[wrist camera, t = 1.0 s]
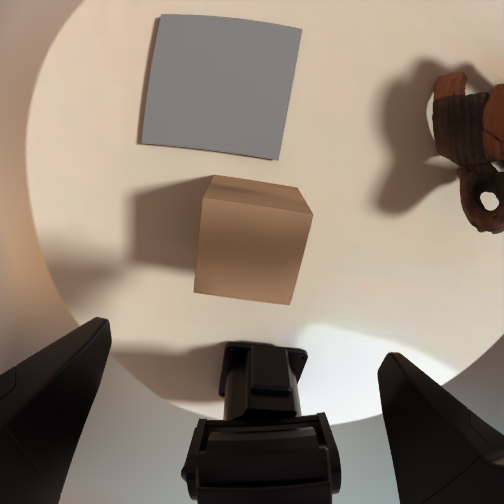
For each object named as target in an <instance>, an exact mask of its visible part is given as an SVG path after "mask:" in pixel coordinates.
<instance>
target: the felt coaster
mask: <svg viewBox="0 0 504 504" xmlns="http://www.w3.org/2000/svg"><path fill="white" fill-rule="evenodd" d="M301 33H302V29H299V28H294V27H289V26H284V25H278V24H273V23H267V22H260V21H253V20H246V19H238V18H228V17H218V16H204V15H179V14H161V18H160V23H159V27H158V32H157V37H156V43H155V48H154V53H153V59H152V65H151V71H150V77H149V84H148V91H147V98H146V106H145V114H144V123H143V132H142V143H145V144H157V145H168V146H178V147H187V148H196V149H204V150H212V151H220V152H227V153H235V154H241V155H248V156H254V157H261V158H267V159H273V160H278V159H279V154H280V149H281V143H282V138H283V132H284V127H285V122H286V116H287V111H288V105H289V100H290V94H291V89H292V83H293V78H294V72H295V67H296V61H297V56H298V50H299V44H300V39H301Z"/></svg>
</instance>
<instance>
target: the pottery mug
mask: <svg viewBox="0 0 504 504" xmlns="http://www.w3.org/2000/svg"><path fill="white" fill-rule="evenodd" d="M466 80H467V77H466V75H465V74H464V73H462V72H456V73H453V74H448V75H444V76H440V77H439V78H438V80H437V82H436V86H435V89H434V101H433V115H432V120H433V132H434V138H435V141H436V145H437V148H438V151H439V153H440V155H441V156H443V157H445V158H447V159H450V160H451V161H452V162H454V163H456V164H457V165H459V166H460V168H459V169H458V170H457V175H458V177H459V179H460V197H461V205H462V208H463V211H464V213H465V215H466V217H467V219H468V220H469V222H470V223H471V224H472V225H473V226H474V227H476V228H477V230H478V231H479V232H484V231H488V232H492V233H493V234H497V233H501V232H503V231H504V172H498V171H497V169H496V168H495V167H494V166H492V164H491V162H494V161H502V160H504V84H498V85H496V86H494V88H493V89H492V90H491V93H490V94H488V93H487V92H484V93H477V94H469V95H466V96H465V85H466ZM483 192H492V193H494V194H495V195H496V197H497V199H498V200H499V205H498V207H497V208H496V209H495V210H493V211H489V210H486V209H485V207H484V206H483V204H482V202H481V200H480V195H481V193H483Z"/></svg>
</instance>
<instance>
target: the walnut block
mask: <svg viewBox="0 0 504 504" xmlns="http://www.w3.org/2000/svg"><path fill="white" fill-rule="evenodd" d="M312 218H313V213H312V212H311V210H310V208H309V206H308V205H307V203H306V201H305V200H304V198H303V196H302V194H301V193H300V191H299V189H298V188H295V187H290V186H284V185H278V184H272V183H266V182H260V181H253V180H247V179H240V178H234V177H227V176H219V175H214V176H213V178H212V180H211V182H210V184H209V186H208V188H207V190H206V192H205V194H204V196H203V201H202V210H201V219H200V228H199V238H198V248H197V258H196V269H195V281H194V293H200V294H207V295H214V296H221V297H229V298H236V299H243V300H251V301H259V302H267V303H275V304H284V305H290V303H291V299H292V296H293V292H294V288H295V285H296V281H297V277H298V273H299V269H300V266H301V262H302V258H303V254H304V250H305V246H306V242H307V238H308V234H309V230H310V226H311V222H312Z"/></svg>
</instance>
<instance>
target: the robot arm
mask: <svg viewBox="0 0 504 504" xmlns="http://www.w3.org/2000/svg"><path fill="white" fill-rule="evenodd" d="M111 343H112V338H111V331H110V323H109V320H107V319H105V318H100V317H95V318H93V319H92V320H90V321H88V322H87V323H85V324H83V325H82V326H80V327H78V328H77V329H75V330H73V331H71V332H70V333H68V334H67V335H65V336H63V337H62V338H60V339H58V340H57V341H55V342H53V343H52V344H50V345H48V346H47V347H45V348H44V349H42V350H40V351H39V352H37V353H35V354H34V355H32V356H30V357H29V358H27V359H26V360H24V361H22V362H21V363H19V364H17V365H16V366H14V367H12V368H11V369H9V370H8V371H6V372H4V373H3V374H1V375H0V504H58V503H59V500H60V496H61V495H60V494H61V492H62V489H63V486H64V483H65V479H66V476H67V473H68V470H69V467H70V464H71V461H72V458H73V455H74V452H75V449H76V447H77V444H78V441H79V438H80V435H81V432H82V430H83V427H84V424H85V422H86V419H87V417H88V414H89V411H90V409H91V406H92V404H93V401H94V399H95V396H96V393H97V391H98V388H99V386H100V382H101V379H102V375H103V372H104V368H105V365H106V361H107V358H108V354H109V351H110V348H111ZM231 348H232V349H233V350H231ZM301 355H303V356H301ZM307 358H308V355H307V352H306V351H305V350H300V349H288V348H277V347H267V346H257V345H248V344H240V343H228V344H227V345H226V346H225V352H224V359H223V365H222V372H221V378H220V385H219V393H218V394H219V396H221V397H224V398H225V402H224V418H223V420H207V419H199V421H198V424H197V427H196V428H195V430H194V433H193V437H192V441H191V444H190V447H189V451H188V454H187V458H186V462H185V465H184V467H183V468H182V470H181V476H182V478H183V479H184V480H185V481H186V482H187V486H188V492H189V495H190V497H191V499H192V500H197V502H198V504H332V494H337V493H339V490H340V487H341V464H340V458H339V453H338V449H337V446H336V443H335V440H334V437H333V434H332V431H331V429H330V426H329V423H328V420H327V417H326V414H325V412H323V413H317V414H316V415H307V416H302V415H301V408H300V401H299V394H298V388H297V384H298V381H299V379H300V376H301V374H302V371H303V369H304V366H305V364H306V361H307ZM378 383H379V390H380V398H381V406H382V413H383V418H384V422H385V427H386V431H387V436H388V441H389V445H390V450H391V455H392V460H393V465H394V470H395V476H396V481H397V487H398V493H399V499H400V504H504V435H503V434H501V433H500V432H498V431H497V430H496V429H494V428H493V427H491V426H490V425H489V424H487V423H486V422H484V421H483V420H482V419H481V418H479V417H478V416H477V415H476V414H474V413H473V412H472V411H470V409H468V408H467V407H466V406H465V405H463V404H462V403H461V402H460V401H458V400H457V399H456V398H455V397H454V396H452V395H451V394H450V393H449V392H447V391H446V390H445V389H444V388H443V387H441V386H440V385H439V384H438V383H436V382H435V381H434V380H433V379H431V378H430V377H429V376H428V375H427V374H425V373H424V372H423V371H422V370H420V369H419V368H418V367H417V366H415V365H414V364H413V363H412V362H410V361H409V360H408V359H407V358H405V357H404V356H403V355H402V354H400V353H398V352H390V353H388V354H387V355H386V357H385V358H384V360H383V362H382V364H381V366H380V367H379V369H378Z"/></svg>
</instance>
